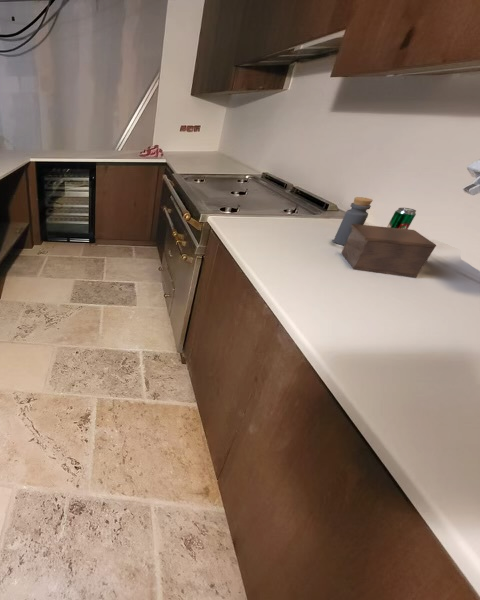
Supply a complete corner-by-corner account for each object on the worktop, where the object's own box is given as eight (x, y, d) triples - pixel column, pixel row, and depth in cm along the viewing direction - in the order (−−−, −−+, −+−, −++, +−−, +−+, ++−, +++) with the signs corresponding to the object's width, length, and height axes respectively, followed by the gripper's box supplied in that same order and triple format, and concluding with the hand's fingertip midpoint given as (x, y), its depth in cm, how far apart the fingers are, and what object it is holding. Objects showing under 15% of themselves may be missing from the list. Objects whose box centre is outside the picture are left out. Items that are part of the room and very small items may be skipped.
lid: (364, 240, 89) (365, 237, 88) (350, 226, 99) (351, 223, 98) (434, 247, 84) (436, 245, 84) (412, 232, 94) (414, 229, 94)
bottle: (330, 242, 111) (350, 198, 103) (336, 238, 114) (355, 195, 106) (351, 247, 107) (372, 202, 99) (355, 243, 110) (377, 199, 102)
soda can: (380, 240, 113) (398, 206, 106) (398, 244, 110) (418, 209, 103) (377, 244, 110) (396, 209, 103) (397, 248, 107) (417, 212, 100)
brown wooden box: (353, 269, 93) (367, 240, 89) (341, 253, 103) (353, 226, 99) (416, 277, 89) (434, 248, 84) (396, 259, 99) (412, 232, 94)
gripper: (510, 135, 80) (438, 174, 88) (585, 144, 64) (488, 191, 72) (521, 155, 81) (448, 192, 89) (597, 169, 65) (501, 212, 73)
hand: (467, 192), depth 81 cm, fingers closed
